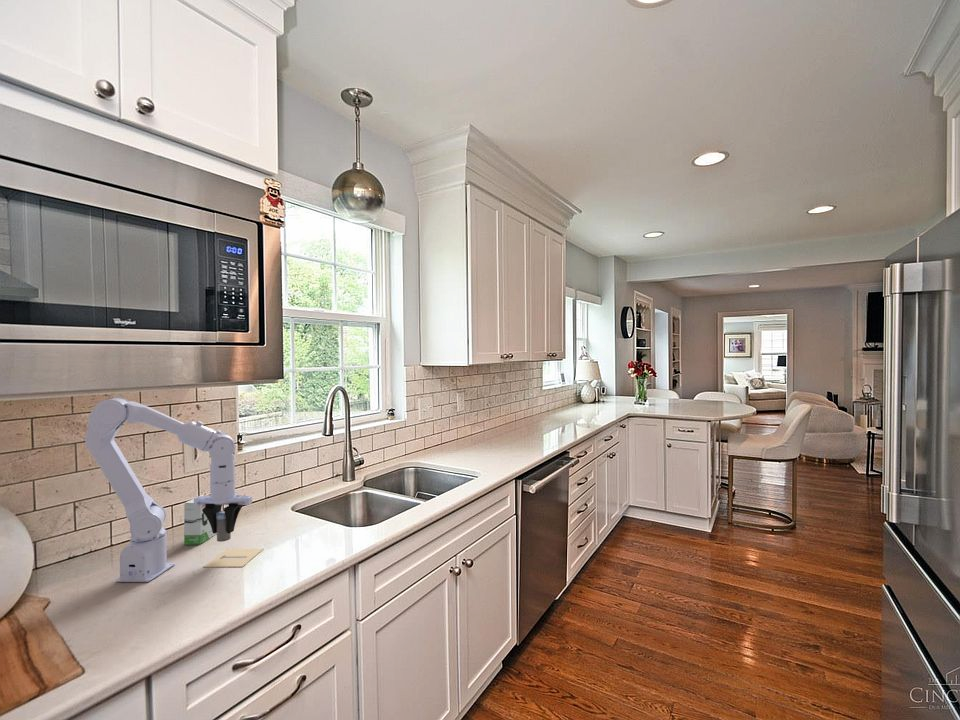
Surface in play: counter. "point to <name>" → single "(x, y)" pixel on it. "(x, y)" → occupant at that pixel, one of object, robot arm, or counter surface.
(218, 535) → the marker
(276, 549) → the counter surface
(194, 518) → the ink box
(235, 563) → the tan square board
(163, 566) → the robot arm
